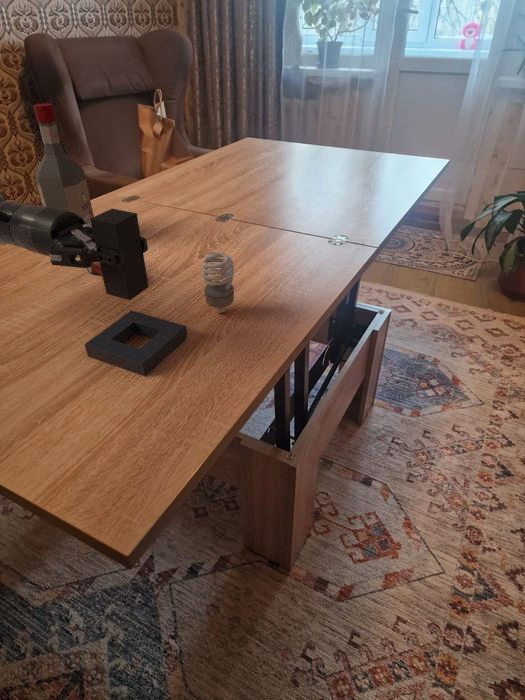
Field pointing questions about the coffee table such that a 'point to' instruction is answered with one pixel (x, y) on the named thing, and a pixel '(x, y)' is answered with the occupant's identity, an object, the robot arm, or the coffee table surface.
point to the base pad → (130, 358)
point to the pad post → (124, 236)
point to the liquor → (60, 171)
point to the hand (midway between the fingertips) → (134, 252)
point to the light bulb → (218, 291)
